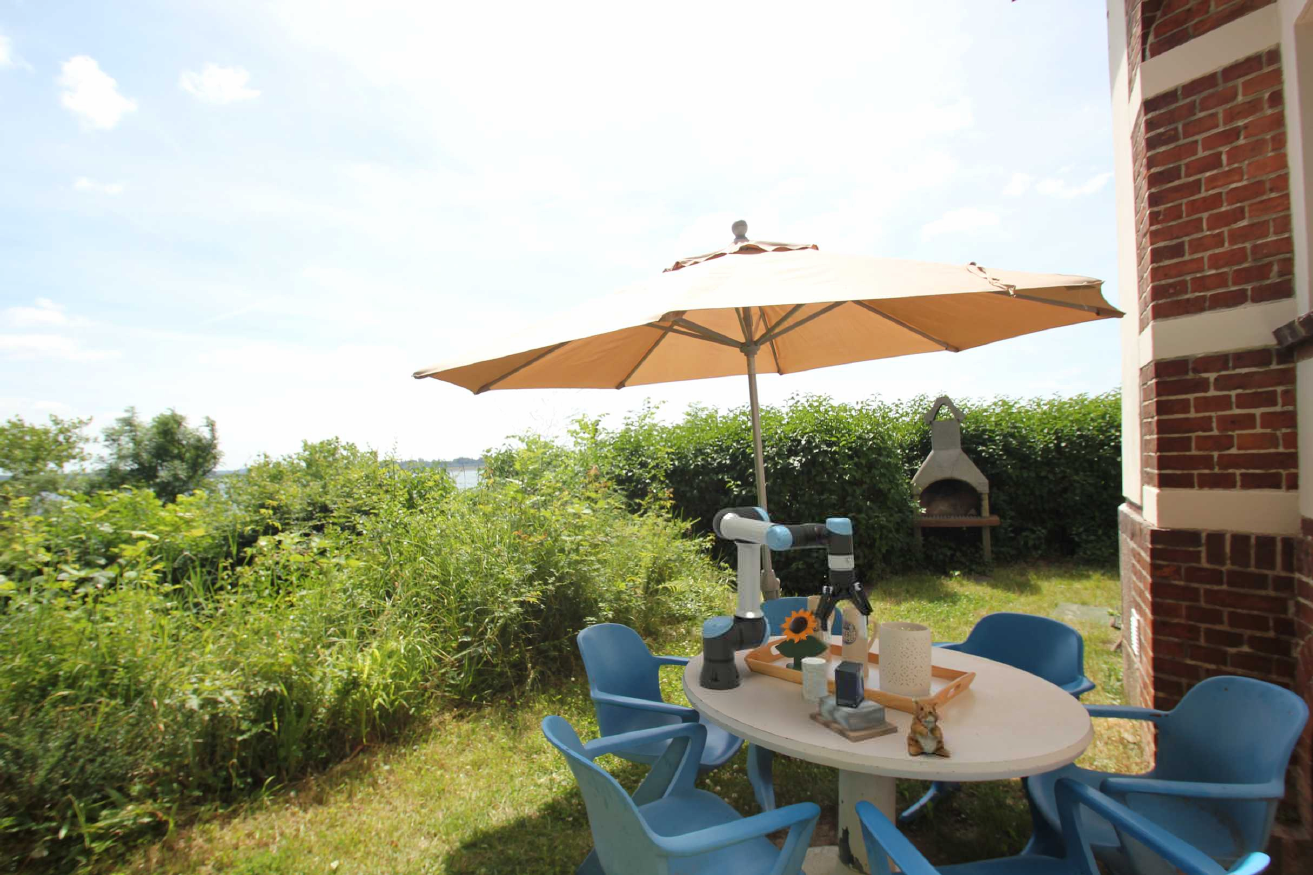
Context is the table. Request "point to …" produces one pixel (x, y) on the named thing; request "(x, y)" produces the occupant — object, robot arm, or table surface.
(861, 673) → the small box
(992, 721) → the table surface
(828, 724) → the building base
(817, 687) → the cup
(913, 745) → the stuffed squirrel
